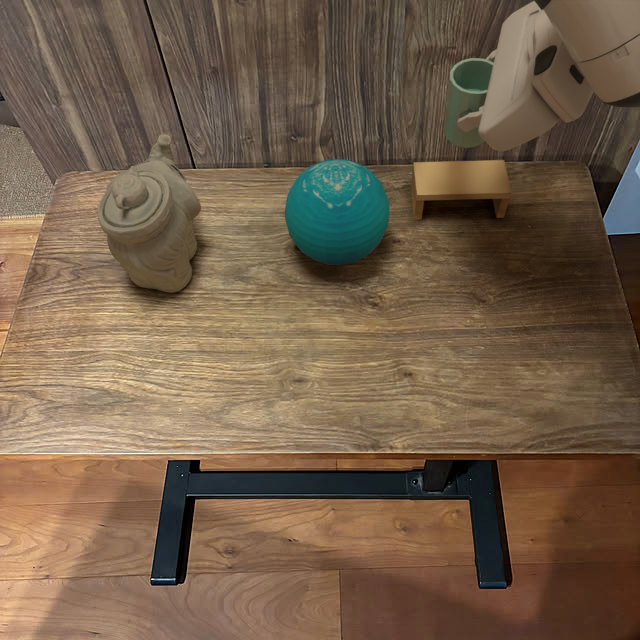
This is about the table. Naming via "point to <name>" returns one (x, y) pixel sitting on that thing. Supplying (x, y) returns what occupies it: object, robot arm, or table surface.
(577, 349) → the table surface
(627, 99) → the robot arm
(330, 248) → the decorative orb
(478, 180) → the shelf
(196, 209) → the teapot
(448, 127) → the sage green tumbler
